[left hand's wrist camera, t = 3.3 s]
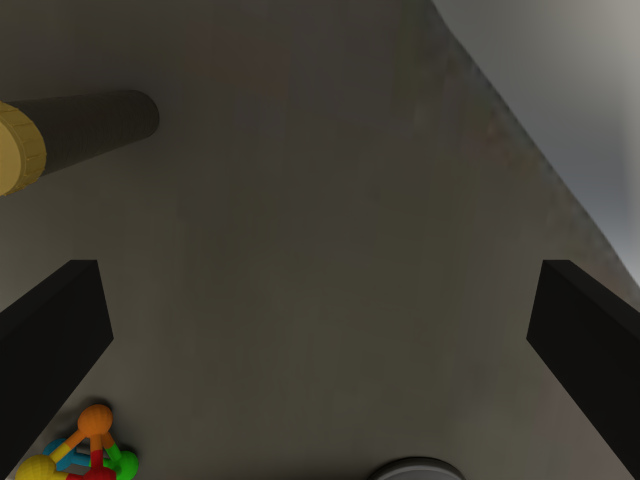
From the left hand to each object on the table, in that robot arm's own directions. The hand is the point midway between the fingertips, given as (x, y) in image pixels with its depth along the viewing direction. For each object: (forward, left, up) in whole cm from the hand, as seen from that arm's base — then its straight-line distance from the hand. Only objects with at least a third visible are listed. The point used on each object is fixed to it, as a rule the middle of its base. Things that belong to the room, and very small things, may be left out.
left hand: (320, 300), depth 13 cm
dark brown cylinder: (+3, +18, -31) cm, 35 cm away
